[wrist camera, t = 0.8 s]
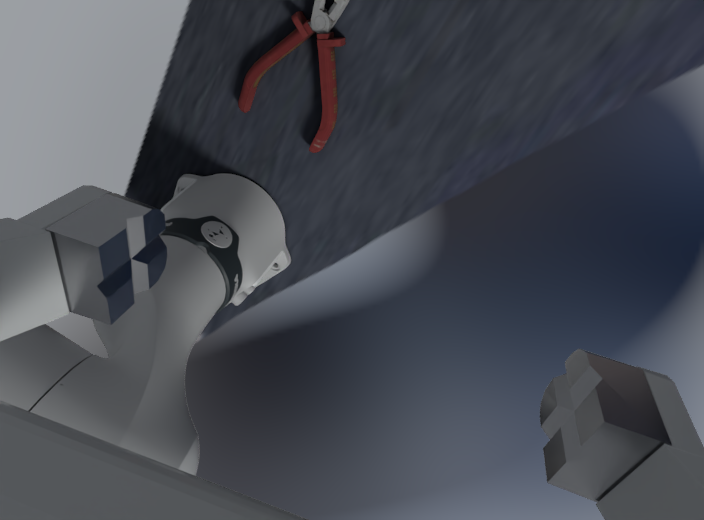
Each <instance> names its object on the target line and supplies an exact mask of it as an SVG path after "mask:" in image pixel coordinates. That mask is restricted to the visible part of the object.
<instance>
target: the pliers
mask: <svg viewBox="0 0 704 520" xmlns="http://www.w3.org/2000/svg"><path fill="white" fill-rule="evenodd" d="M334 1H335V2H334V3H333V5H332V6H331V8H330V9H329V11H326V10H327V9H326V8H325V7H324V5H325V0H315V2H314V7H313V12H312V17H311V19H309V20H307V19H306V18H305V16H304V14H303V12H302V11H299V12H296V13H295V14H294V15H292V20H293V22H294V24H295V26H296V27H297V28H296V29H295V30H294V31H293V32H291V33H290V34H289V35H288V36H287V37H285V38H284V39H283V40H282V41H280V42H279V43H278V44H277V45H275V46H274V47H273V48H272V49H270V50H269V51H268V52H267V53H266V54H264V55H263V56H262V57H261V58H259V59H258V60H257V61H256V62H255V63H254V64H253V66H252V67H251V68H250V69H249V71H248V72H247V74H246V76H245V79H244V82H243V86H242V90H241V93H240V97H239V101H238V105H239V108H240V110H241V111H243V112H244V113H246V112H248V111H249V110H250V107H251V104H252V101H253V98H254V95H255V92H256V88H257V85H258V83H259V81H260V79H261V78H262V76H263V75H264V74H265V73H266V71H268V70H269V69H270V68H271V67H272V66H273V65H275V64H276V63H277V62H279V61H280V60H281V59H282V58H284V57H285V56H286V55H288V54H289V53H290V52H291V51H293V50H294V49H295V48H297V47H298V46H299V45H300V44H302V43H303V42H304V41H306V40H307V39H308V38H309V37H311V36H312V35H313V34H314V33H316V32H317V33H319V34H317V47H318V55H319V69H320V82H321V96H322V120H321V124H320V127H319V130H318V132H317V134H316V136H315V138H314V140H313V142H312V144H311V146H310V148H309V151H310V152H312V153H316V152H319V151H321V150H322V149H323V147H324V145H325V143H326V142H327V140H328V138H329V136H330V134H331V132H332V131H333V129H334V127H335V123H336V118H337V86H336V68H335V50H334V47H338V46H343V45H345V37H339V38H334V32H330V30H331V29H332V28H333V26H334V24H335V23H336V21H337V20H338V18H339V17H340V15H341V14H342V12H343V11H344V9H345V7H346V6H347V4H348V2H349V0H334Z"/></svg>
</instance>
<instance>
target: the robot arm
mask: <svg viewBox="0 0 704 520" xmlns="http://www.w3.org/2000/svg"><path fill="white" fill-rule="evenodd" d="M275 263H277V264H278V265H276V264H275ZM290 263H291V258H290V255H289V252H288V250H287V247H286V245H285V225H284V221H283V218H282V215H281V213H280V210H279V208H278V207H277V205H276V203H275V202H274V201H273V199H272V198H271V197H270V196H269V195H268V194H267V193H266V192H265V191H264V190H263V189H262V188H261V187H260V186H258V185H257V184H255V183H254V182H252V181H250V180H248V179H246V178H244V177H241V176H238V175H234V174H226V173H222V174H214V175H210V176H203V177H202V176H198V175H193V174H184V175H182V176H181V177H180V178H179V180H178V182H177V186H176V189H175V192H174V196H173V199H171V200H170V201H169V202H168V203H167V204H166V205H164V206H163V207H162V208H161V210H160V209H158V208H155V207H152V206H149V205H147V204H144V203H141V202H138V201H135V200H133V199H130V198H127V197H124V196H121V195H119V194H115V193H112V192H109V191H107V190H104V189H101V188H97V187H95V186H81V187H79V188H77V189H75V190H73V191H72V192H70V193H68V194H66V195H64V196H62V197H60V198H58V199H56V200H54V201H52V202H51V203H49V204H47V205H45V206H43V207H41V208H39V209H37V210H35V211H33V212H32V213H30V214H28V215H26V216H24V217H22V218H20V219H18V220H14V219H11V218H4V219H0V520H308V519H305V518H302V517H300V516H297V515H295V514H292V513H290V512H287V511H284V510H282V509H279V508H277V507H274V506H271V505H269V504H266V503H264V502H261V501H259V500H256V499H253V498H251V497H248V496H246V495H243V494H241V493H238V492H235V491H233V490H230V489H228V488H225V487H222V486H220V485H217V484H215V483H212V482H210V481H207V480H204V479H202V478H200V477H197V476H196V472H197V468H198V462H199V439H198V434H197V431H196V429H195V427H194V424H193V422H192V420H191V417H190V414H189V410H188V406H187V401H186V395H185V370H186V364H187V359H188V356H189V353H190V351H191V349H192V347H193V345H194V343H195V342H196V340H197V339H198V337H199V335H200V334H201V332H202V331H203V329H204V328H205V326H206V325H207V324H208V322H209V321H210V319H211V318H212V317H213V315H214V314H216V313H218V312H220V311H221V310H222V309H223V308H224V307H225V306H227V305H228V304H229V303H231V302H232V303H233V304H234V305H236V306H237V305H239V304H240V303H241V302H242V301H243V300H244V299H245V298H246V297H247V294H248V295H249V294H250V293H251V292H252V291H253V290H254V289H255V287H257V286H258V285H260V284H262V283H263V282H265V281H266V280H268V279H270V278H271V277H273V276H274V275H276V274H277V273H279V272H281V271H282V270H284V269H285V268H287V267H288V266H289V264H290ZM70 312H73V313H76V314H79V315H82V316H85V317H88V318H91V319H93V323H94V326H95V329H96V331H97V333H98V335H99V337H100V338H101V340H102V342H103V344H104V346H105V348H106V350H107V353H108V357H109V358H101V357H99V356H97V355H93V354H91V353H90V352H88V351H87V350H85V349H83V348H82V347H80V346H79V345H77V344H76V343H74V342H73V341H71V340H69V339H68V338H66V337H65V336H63V335H62V334H60V333H58V332H57V331H55V330H54V329H52V328H50V327H49V326H48V325H46V323H48V322H50V321H53V320H56V319H58V318H61V317H63V316H66V315H68V314H69V313H70ZM565 366H566V371H567V373H566V374H564V375H561V376H558V377H555V378H553V379H552V381H551V382H550V384H549V385H548V387H547V388H546V390H545V392H544V395H543V399H542V401H541V407H540V422H541V428H542V429H543V430H544V432H545V433H546V435H547V436H548V437H549V439H550V441H549V442H548V443H547V444H546V446H545V447H544V448H543V450H544V458H545V466H546V475H547V482H548V483H549V484H552V485H554V486H557V487H559V488H562V489H565V490H567V491H570V492H572V493H575V494H577V495H580V496H582V497H585V498H587V499H590V500H593V501H595V502H598V503H597V504H596V505H597V507H598V509H599V511H600V512H601V514H602V516H603V517H604V519H605V520H704V447H703V445H702V443H701V440H700V438H699V436H698V434H697V432H696V429H695V427H694V425H693V423H692V421H691V418H690V416H689V414H688V412H687V410H686V407H685V405H684V403H683V401H682V398H681V396H680V394H679V392H678V390H677V387H676V385H675V383H674V382H673V381H672V380H671V379H670V378H669V377H668V376H666V375H663V374H660V373H657V372H653V371H650V370H647V369H644V368H640V367H634V366H631V365H628V364H625V363H622V362H619V361H615V360H613V359H610V358H606V357H603V356H600V355H597V354H594V353H591V352H588V351H585V350H582V349H578V350H576V351H575V352H573V353H572V354H571V355H570V357H569V358H568V359H567V360H566V362H565Z"/></svg>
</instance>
